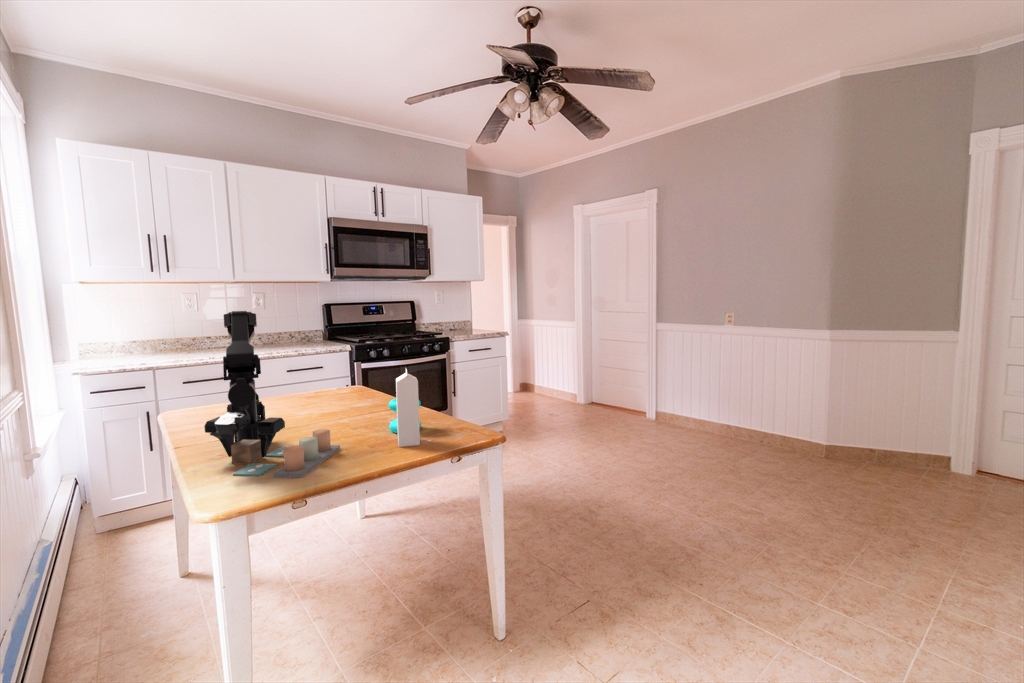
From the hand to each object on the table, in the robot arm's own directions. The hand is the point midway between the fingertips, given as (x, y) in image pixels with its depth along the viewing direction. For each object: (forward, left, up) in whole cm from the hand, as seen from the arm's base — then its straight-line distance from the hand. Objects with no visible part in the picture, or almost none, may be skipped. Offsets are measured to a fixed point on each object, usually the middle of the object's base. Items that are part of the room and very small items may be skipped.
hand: (247, 456), depth 123 cm
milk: (+39, +16, -1) cm, 42 cm away
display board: (+17, 0, -1) cm, 17 cm away
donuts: (+34, +29, -1) cm, 45 cm away
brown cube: (0, 0, -1) cm, 1 cm away
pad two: (+7, -7, -1) cm, 9 cm away
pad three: (+7, +6, -1) cm, 9 cm away
